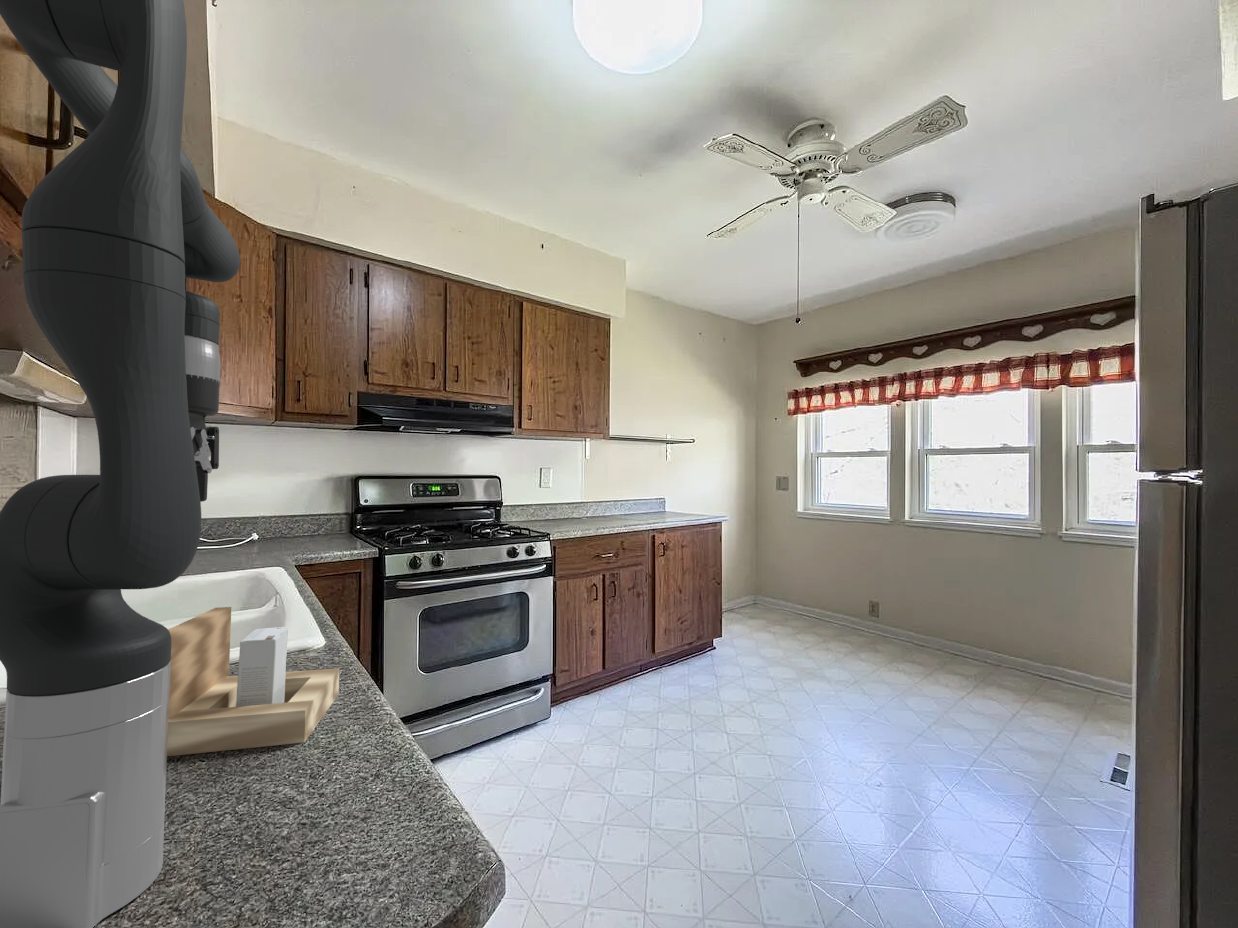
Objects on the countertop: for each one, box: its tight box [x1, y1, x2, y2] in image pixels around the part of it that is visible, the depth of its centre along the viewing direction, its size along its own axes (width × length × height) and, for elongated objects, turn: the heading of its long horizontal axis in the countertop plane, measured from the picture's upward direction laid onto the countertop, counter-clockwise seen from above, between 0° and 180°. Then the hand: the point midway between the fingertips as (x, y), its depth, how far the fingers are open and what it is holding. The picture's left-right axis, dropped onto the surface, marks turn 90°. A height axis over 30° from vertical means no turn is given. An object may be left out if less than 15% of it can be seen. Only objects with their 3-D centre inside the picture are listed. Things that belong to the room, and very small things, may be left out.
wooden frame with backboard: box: [167, 606, 340, 757], centre depth 70 cm, size 16×17×14 cm
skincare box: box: [236, 626, 289, 707], centre depth 70 cm, size 6×4×12 cm
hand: (177, 502), depth 65 cm, fingers open, 8 cm apart
